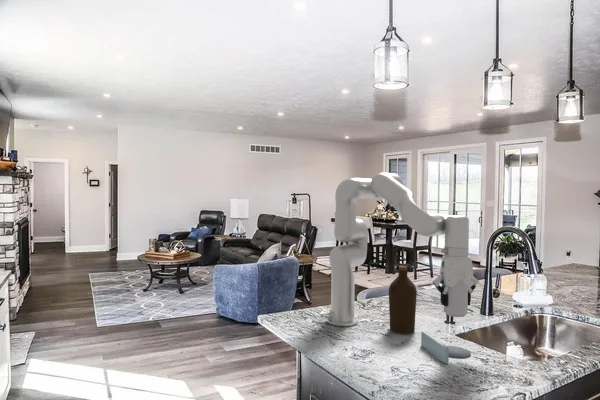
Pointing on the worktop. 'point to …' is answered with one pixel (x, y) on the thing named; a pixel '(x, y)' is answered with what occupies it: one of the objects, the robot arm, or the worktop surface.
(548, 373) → the worktop surface
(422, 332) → the acrylic wall
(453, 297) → the can
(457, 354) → the coaster
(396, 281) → the olive oil
